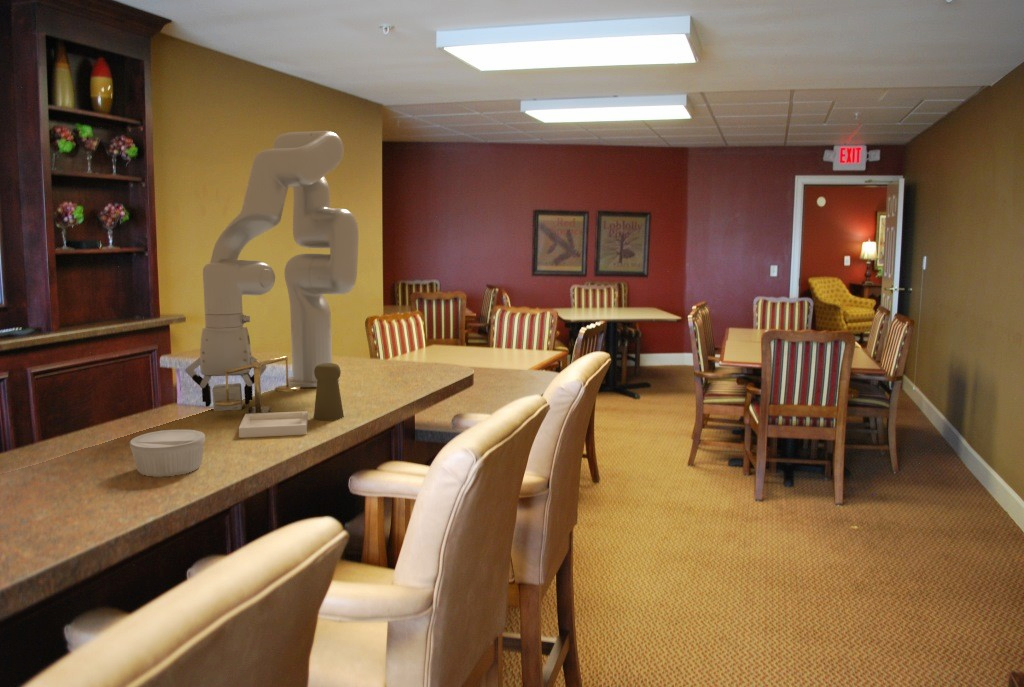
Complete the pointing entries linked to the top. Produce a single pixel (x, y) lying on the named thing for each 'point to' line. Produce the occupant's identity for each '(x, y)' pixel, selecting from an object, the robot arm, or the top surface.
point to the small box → (220, 394)
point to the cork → (328, 392)
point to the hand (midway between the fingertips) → (228, 403)
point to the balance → (257, 386)
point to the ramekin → (168, 452)
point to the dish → (274, 424)
